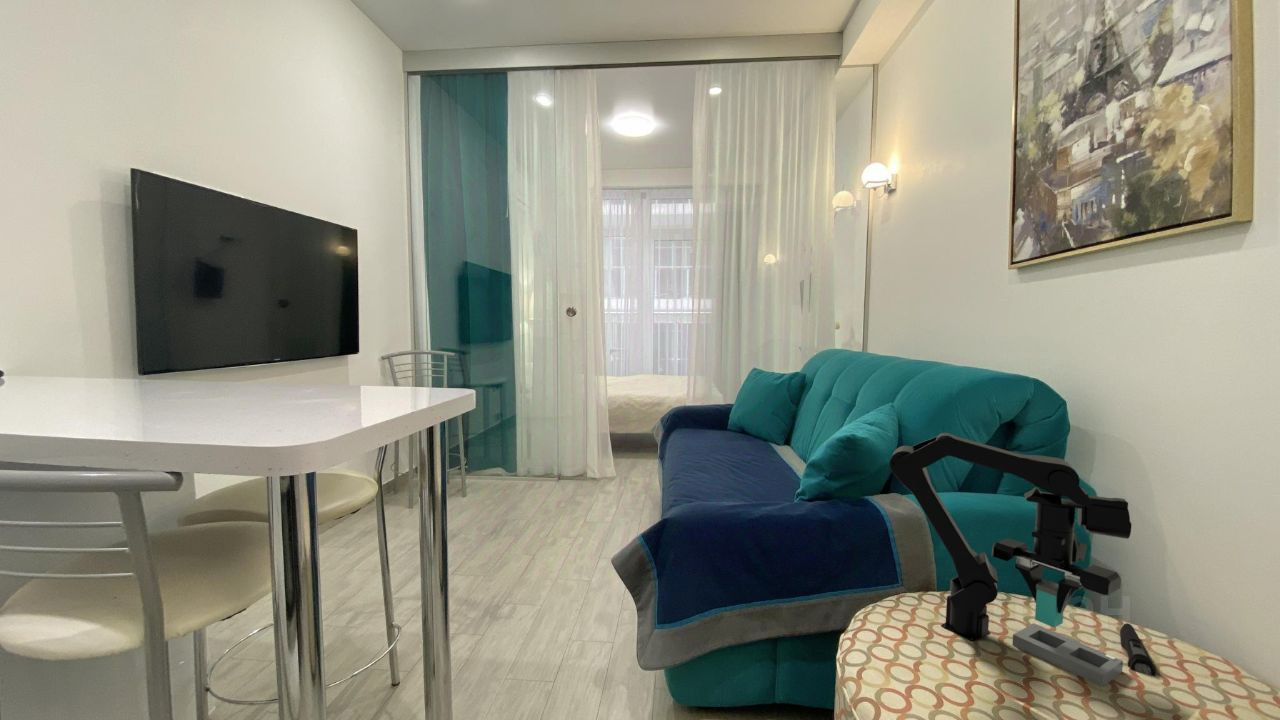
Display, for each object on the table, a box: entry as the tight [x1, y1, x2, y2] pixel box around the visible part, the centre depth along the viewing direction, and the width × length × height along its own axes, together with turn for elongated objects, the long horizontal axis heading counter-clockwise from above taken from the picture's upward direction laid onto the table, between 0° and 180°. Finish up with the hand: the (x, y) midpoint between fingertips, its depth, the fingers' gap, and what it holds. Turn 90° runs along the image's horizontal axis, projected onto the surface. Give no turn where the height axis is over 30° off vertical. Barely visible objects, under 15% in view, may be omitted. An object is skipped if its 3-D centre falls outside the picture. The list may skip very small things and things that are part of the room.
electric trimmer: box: [1119, 623, 1157, 677], centre depth 103 cm, size 4×16×3 cm, turn 146°
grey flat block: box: [1011, 623, 1124, 687], centre depth 101 cm, size 14×8×3 cm, turn 31°
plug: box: [1034, 579, 1064, 629], centre depth 103 cm, size 3×3×7 cm
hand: (1049, 608), depth 103 cm, fingers closed on plug, 3 cm apart
